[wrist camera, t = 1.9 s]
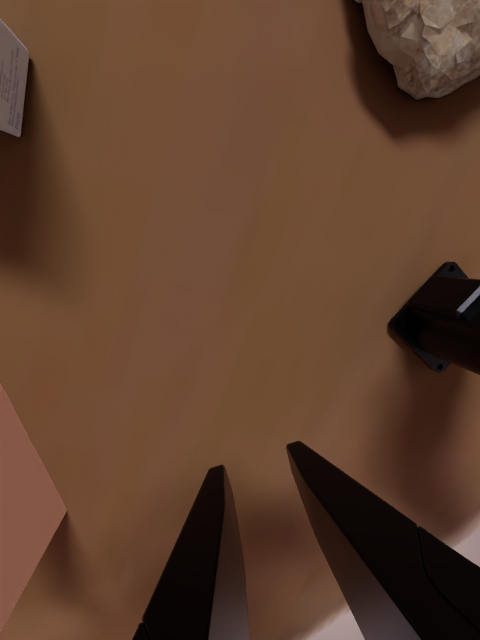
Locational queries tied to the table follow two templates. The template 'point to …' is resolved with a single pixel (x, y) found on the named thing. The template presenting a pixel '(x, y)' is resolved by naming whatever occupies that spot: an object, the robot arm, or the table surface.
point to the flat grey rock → (427, 42)
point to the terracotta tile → (22, 508)
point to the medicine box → (12, 80)
